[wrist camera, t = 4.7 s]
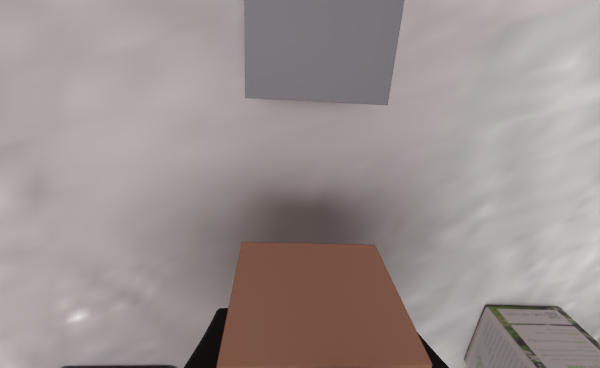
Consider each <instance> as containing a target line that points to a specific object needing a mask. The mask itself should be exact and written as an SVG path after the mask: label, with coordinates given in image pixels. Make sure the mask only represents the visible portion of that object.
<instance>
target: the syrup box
mask: <svg viewBox="0 0 600 368" xmlns="http://www.w3.org/2000/svg"><path fill="white" fill-rule="evenodd" d="M465 362H466V365H467V366H468V368H600V344H599V343H598V342H597V341H596V340H595V339H594V338H593V337H591V336H590V335H589V334H588V333H587V332H586V331H585V330H584V329H582V328H581V327H580V326H579V325H578V324H577V323H576V322H575V321H574V320H573V319H572V318H571V317H570V316H568V315H567V314H566V313H565V312H564V311H563V310H562V309H561V308H553V307H499V306H491V307H489V306H488V307H486V308H485V310H484V312H483V314H482V316H481V319H480V321H479V323H478V326H477V328H476V331H475V333H474V336H473V339H472V341H471V344H470V347H469V350H468V352H467V355H466V358H465Z"/></svg>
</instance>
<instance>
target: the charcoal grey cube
mask: <svg viewBox="0 0 600 368" xmlns="http://www.w3.org/2000/svg"><path fill="white" fill-rule="evenodd" d="M244 2H245V98H256V99H276V100H296V101H315V102H335V103H355V104H375V105H388V99H389V92H390V86H391V80H392V74H393V68H394V62H395V55H396V49H397V43H398V37H399V31H400V24H401V18H402V12H403V6H404V0H244Z"/></svg>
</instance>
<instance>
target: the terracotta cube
mask: <svg viewBox="0 0 600 368" xmlns="http://www.w3.org/2000/svg"><path fill="white" fill-rule="evenodd" d="M217 368H432V363H431V361H430V359H429V356H428V354H427V352H426V350H425V348H424V346H423V344H422V342H421V340H420V338H419V336H418V334H417V332H416V329H415V327H414V325H413V323H412V321H411V319H410V317H409V315H408V313H407V311H406V309H405V307H404V305H403V302H402V300H401V298H400V296H399V294H398V292H397V290H396V288H395V286H394V284H393V282H392V280H391V278H390V275H389V273H388V271H387V269H386V267H385V265H384V263H383V261H382V259H381V257H380V255H379V253H378V251H377V248H376V246H375V245H365V244H312V243H259V242H242V244H241V249H240V254H239V259H238V264H237V268H236V273H235V278H234V283H233V288H232V293H231V298H230V303H229V308H228V313H227V318H226V323H225V328H224V333H223V338H222V343H221V348H220V353H219V358H218V362H217Z"/></svg>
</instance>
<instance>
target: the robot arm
mask: <svg viewBox="0 0 600 368" xmlns="http://www.w3.org/2000/svg"><path fill="white" fill-rule="evenodd" d="M227 313H228V308H220V309H218V310H217V311H216V313H215V316H214V318H213V320H212V322H211V323H210V325H209V327H208V329H207V331H206V333H205V334H204V336H203V338H202V340H201V341H200V343H199V345H198V346H197V348H196V349H195V351H194V353H193V354H192V356H191V357H190V359H189V360H188V362H187V364H186V365H185V367H184V368H217V362H218V358H219V353H220V348H221V343H222V338H223V333H224V328H225V323H226V318H227ZM416 332H417V331H416ZM417 334H418V333H417ZM418 336H419V338H420V340H421V342H422V344H423V346H424V348H425V350H426V352H427V354H428V356H429V359H430V361H431V363H432V368H449V367H448V366H447V365H446V364H445V363H444V362H443V361H442V360H441V359H440V357H439V356H438V355H437V354H436V353H435V352H434V351H433V350H432V349H431V348H430V346H429V345H428V344H427V343H426V342H425V341H424V340H423V338H422V337H421V336H420V335H419V334H418Z"/></svg>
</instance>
